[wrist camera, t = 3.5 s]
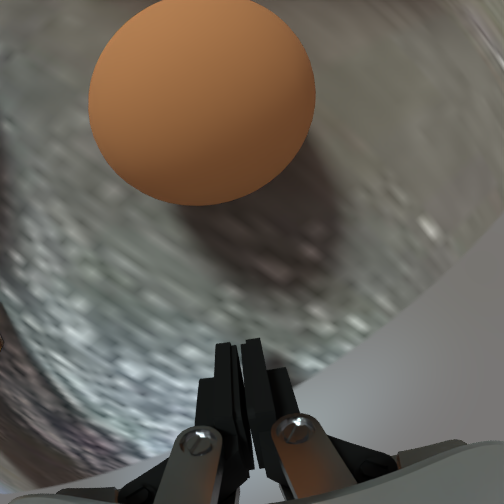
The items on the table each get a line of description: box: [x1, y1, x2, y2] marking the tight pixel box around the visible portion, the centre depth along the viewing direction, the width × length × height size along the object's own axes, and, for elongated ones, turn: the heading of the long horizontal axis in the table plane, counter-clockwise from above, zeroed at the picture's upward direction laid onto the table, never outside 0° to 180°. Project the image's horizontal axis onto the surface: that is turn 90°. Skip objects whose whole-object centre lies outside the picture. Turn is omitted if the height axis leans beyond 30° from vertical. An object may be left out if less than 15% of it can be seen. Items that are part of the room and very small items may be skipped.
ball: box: [88, 0, 316, 206], centre depth 7 cm, size 6×6×6 cm
